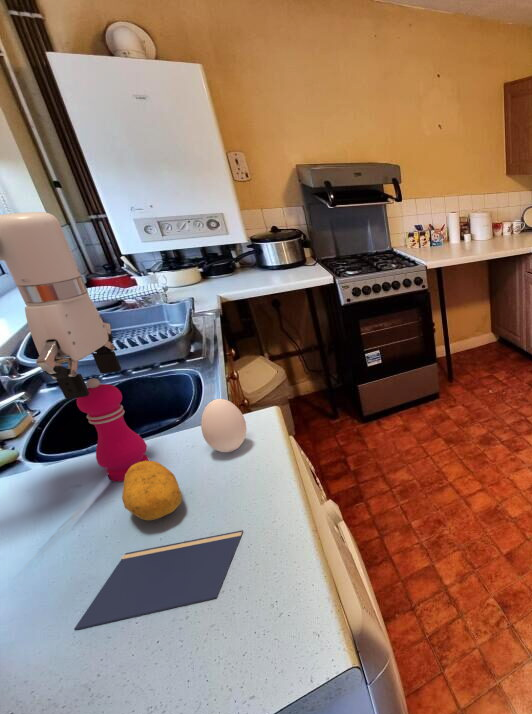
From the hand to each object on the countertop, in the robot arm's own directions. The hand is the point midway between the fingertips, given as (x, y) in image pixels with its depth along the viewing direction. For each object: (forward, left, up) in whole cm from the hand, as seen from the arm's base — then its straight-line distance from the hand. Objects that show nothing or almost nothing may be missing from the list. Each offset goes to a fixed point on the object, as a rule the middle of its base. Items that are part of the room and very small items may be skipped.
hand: (95, 383), depth 78 cm
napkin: (+18, -29, -19) cm, 39 cm away
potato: (+10, -13, -19) cm, 25 cm away
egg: (+17, +2, -19) cm, 26 cm away
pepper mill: (0, 0, -19) cm, 19 cm away
